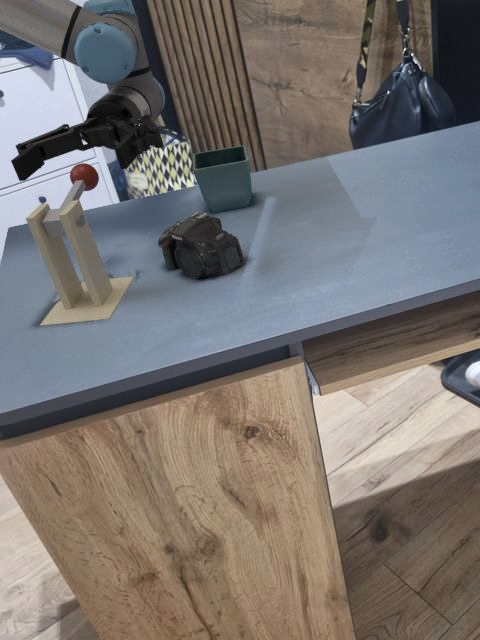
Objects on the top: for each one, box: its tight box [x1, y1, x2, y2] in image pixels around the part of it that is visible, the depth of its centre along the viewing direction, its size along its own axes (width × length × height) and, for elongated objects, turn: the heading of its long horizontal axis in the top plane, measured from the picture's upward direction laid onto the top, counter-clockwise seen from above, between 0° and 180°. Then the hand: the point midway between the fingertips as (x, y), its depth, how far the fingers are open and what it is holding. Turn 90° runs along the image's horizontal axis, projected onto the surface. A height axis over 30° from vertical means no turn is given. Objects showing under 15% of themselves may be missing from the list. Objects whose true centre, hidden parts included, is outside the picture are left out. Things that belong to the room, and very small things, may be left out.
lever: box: [42, 162, 100, 238], centre depth 82 cm, size 14×4×4 cm, turn 179°
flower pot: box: [192, 144, 252, 213], centre depth 105 cm, size 9×9×9 cm
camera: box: [157, 211, 246, 280], centre depth 87 cm, size 11×8×9 cm
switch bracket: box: [25, 199, 135, 327], centre depth 81 cm, size 11×9×14 cm
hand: (68, 164), depth 82 cm, fingers open, 13 cm apart
